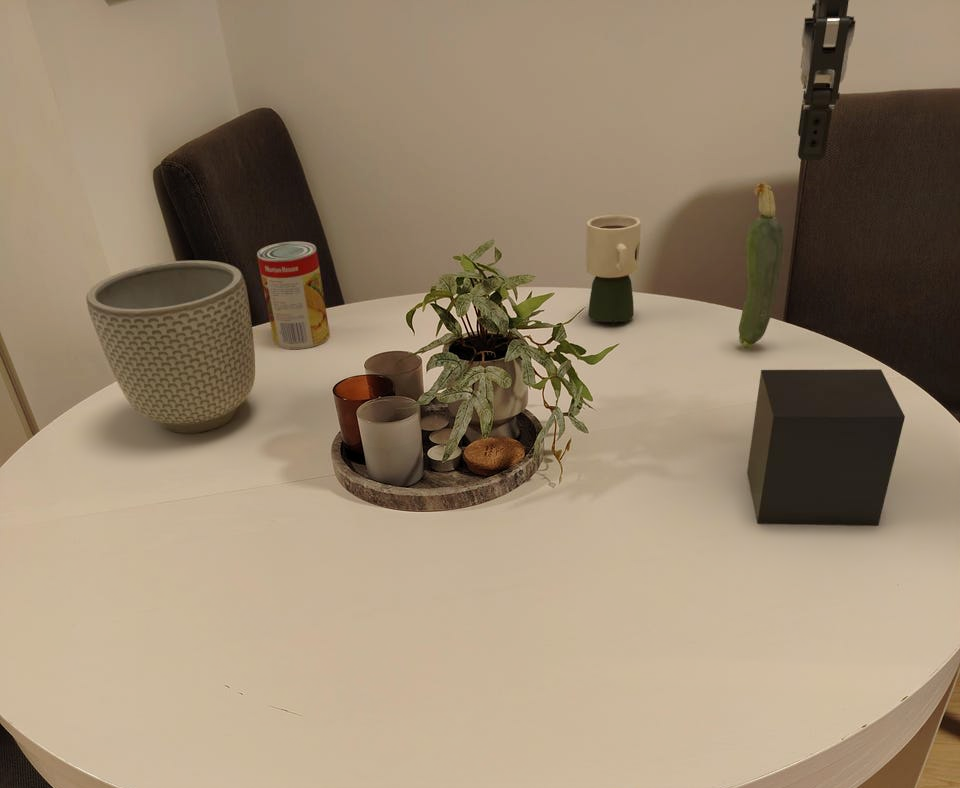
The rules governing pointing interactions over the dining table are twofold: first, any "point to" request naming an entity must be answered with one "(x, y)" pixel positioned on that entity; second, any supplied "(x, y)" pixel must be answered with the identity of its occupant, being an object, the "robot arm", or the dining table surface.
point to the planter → (178, 340)
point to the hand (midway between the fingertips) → (810, 147)
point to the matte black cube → (823, 446)
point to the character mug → (612, 265)
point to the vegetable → (761, 268)
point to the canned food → (294, 294)
